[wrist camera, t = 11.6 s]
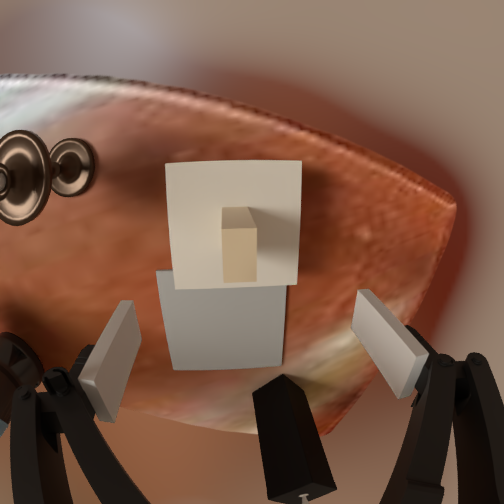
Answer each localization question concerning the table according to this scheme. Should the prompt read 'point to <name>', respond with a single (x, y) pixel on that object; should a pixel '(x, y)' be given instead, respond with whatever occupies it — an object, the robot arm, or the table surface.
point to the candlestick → (39, 173)
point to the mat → (222, 325)
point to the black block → (290, 444)
